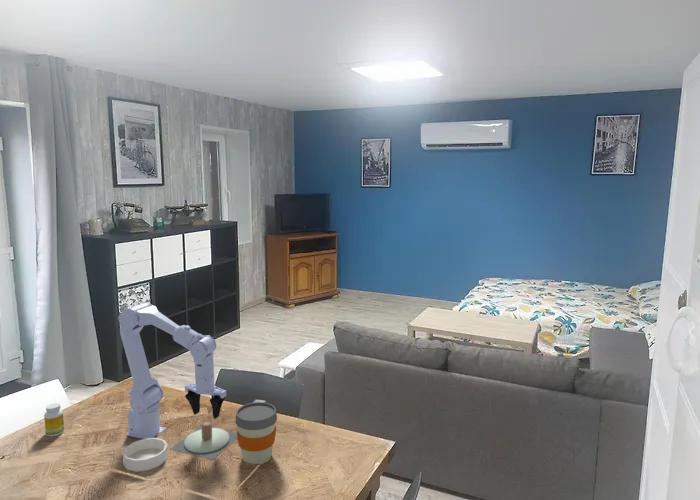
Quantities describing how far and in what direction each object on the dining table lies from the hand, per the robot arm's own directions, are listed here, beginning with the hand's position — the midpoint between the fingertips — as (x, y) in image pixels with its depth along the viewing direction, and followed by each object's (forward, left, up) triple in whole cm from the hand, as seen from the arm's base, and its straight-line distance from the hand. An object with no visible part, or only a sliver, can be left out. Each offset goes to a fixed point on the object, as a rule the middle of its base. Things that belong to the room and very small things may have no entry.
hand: (206, 415), depth 152 cm
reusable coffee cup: (+19, -1, -10) cm, 21 cm away
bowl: (-11, -15, -10) cm, 21 cm away
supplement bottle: (-51, -13, -10) cm, 54 cm away
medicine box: (+10, +14, -10) cm, 20 cm away
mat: (0, 0, -10) cm, 10 cm away
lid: (0, 0, -9) cm, 9 cm away
